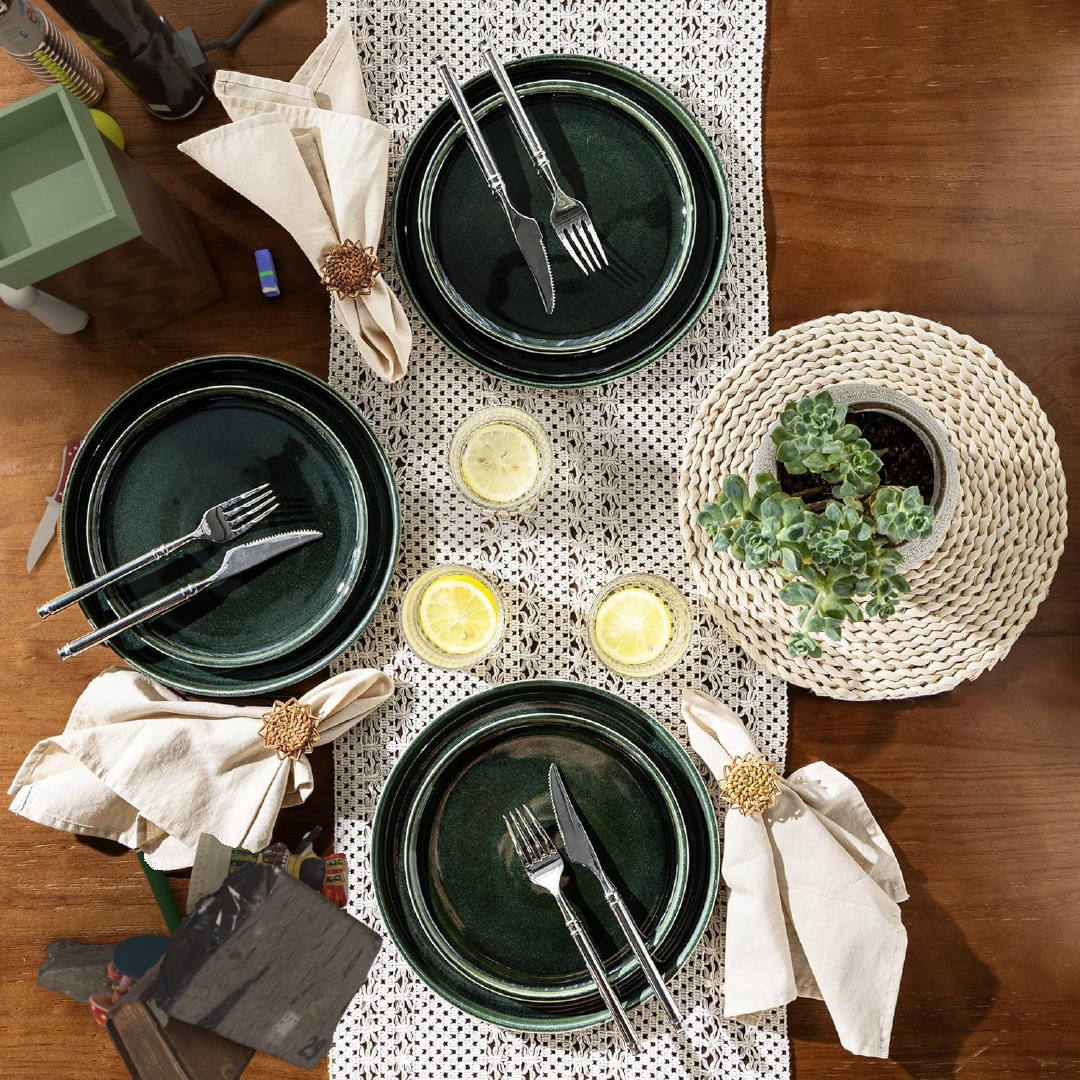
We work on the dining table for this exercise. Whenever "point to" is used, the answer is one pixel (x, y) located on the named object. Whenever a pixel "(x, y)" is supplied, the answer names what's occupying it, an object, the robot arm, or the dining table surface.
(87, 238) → the open bin
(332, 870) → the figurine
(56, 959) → the stone
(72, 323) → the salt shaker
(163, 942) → the figurine
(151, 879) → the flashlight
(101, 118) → the ornament
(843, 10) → the dining table surface
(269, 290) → the eraser
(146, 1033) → the book
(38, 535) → the knife
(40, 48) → the water bottle
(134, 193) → the bin stand
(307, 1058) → the stone slab
